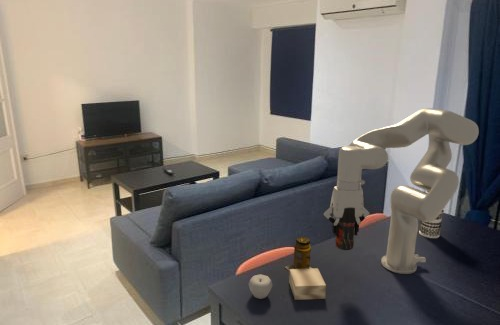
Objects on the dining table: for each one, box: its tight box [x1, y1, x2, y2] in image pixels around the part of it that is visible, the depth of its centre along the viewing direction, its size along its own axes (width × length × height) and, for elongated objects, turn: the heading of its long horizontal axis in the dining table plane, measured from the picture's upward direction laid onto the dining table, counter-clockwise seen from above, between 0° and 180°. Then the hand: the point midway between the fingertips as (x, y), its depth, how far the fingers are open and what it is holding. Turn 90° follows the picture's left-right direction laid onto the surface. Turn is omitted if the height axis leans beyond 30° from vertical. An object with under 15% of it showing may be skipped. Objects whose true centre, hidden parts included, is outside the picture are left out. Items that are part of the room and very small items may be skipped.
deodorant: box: [335, 208, 356, 251], centre depth 120 cm, size 6×6×15 cm
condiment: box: [284, 236, 312, 272], centre depth 131 cm, size 7×8×12 cm
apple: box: [248, 273, 273, 300], centre depth 116 cm, size 8×8×7 cm
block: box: [288, 267, 327, 301], centre depth 120 cm, size 10×10×5 cm
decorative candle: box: [418, 190, 446, 239], centre depth 159 cm, size 9×9×25 cm
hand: (345, 233), depth 121 cm, fingers closed on deodorant, 5 cm apart
